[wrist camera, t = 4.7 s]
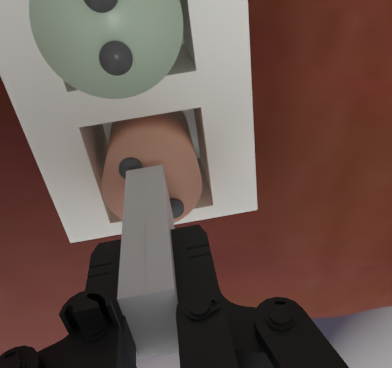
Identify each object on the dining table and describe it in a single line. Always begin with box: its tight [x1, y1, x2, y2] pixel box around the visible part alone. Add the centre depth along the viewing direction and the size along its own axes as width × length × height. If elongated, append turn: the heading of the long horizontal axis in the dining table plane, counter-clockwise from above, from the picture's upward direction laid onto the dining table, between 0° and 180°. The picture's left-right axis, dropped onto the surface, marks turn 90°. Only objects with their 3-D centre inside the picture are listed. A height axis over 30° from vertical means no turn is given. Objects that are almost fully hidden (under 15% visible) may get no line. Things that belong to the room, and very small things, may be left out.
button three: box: [101, 110, 202, 223], centre depth 19 cm, size 4×4×6 cm
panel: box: [0, 0, 257, 243], centre depth 16 cm, size 21×10×6 cm, turn 7°
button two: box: [29, 0, 183, 99], centre depth 13 cm, size 4×4×6 cm
